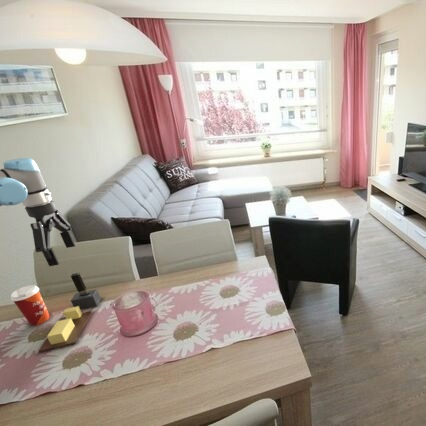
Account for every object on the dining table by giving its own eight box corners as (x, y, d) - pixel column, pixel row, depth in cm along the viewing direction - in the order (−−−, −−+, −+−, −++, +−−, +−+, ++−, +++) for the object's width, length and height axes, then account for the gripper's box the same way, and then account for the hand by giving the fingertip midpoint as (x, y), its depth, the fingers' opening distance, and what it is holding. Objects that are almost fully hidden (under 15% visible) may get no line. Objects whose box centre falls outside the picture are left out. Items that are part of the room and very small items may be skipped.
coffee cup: (50, 322, 118) (34, 293, 112) (24, 331, 114) (5, 300, 108) (55, 310, 125) (40, 281, 119) (30, 317, 121) (13, 288, 115)
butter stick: (51, 344, 106) (46, 336, 105) (61, 329, 113) (57, 321, 112) (65, 341, 108) (61, 333, 106) (75, 325, 115) (71, 318, 113)
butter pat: (66, 320, 117) (62, 312, 116) (69, 316, 120) (65, 308, 118) (79, 317, 119) (76, 310, 117) (82, 313, 121) (78, 306, 119)
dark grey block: (75, 310, 124) (70, 300, 122) (80, 303, 128) (75, 293, 126) (97, 306, 126) (92, 296, 124) (101, 298, 130) (96, 289, 128)
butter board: (39, 352, 105) (38, 350, 104) (61, 319, 119) (60, 317, 119) (75, 344, 108) (74, 342, 107) (92, 312, 122) (91, 311, 122)
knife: (83, 305, 126) (70, 276, 119) (85, 302, 127) (71, 273, 121) (91, 303, 126) (78, 274, 120) (92, 300, 128) (79, 272, 122)
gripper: (32, 215, 91) (59, 271, 100) (67, 190, 113) (87, 238, 122) (2, 219, 89) (33, 276, 98) (44, 193, 111) (66, 241, 120)
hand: (63, 255), depth 110 cm, fingers open, 13 cm apart
